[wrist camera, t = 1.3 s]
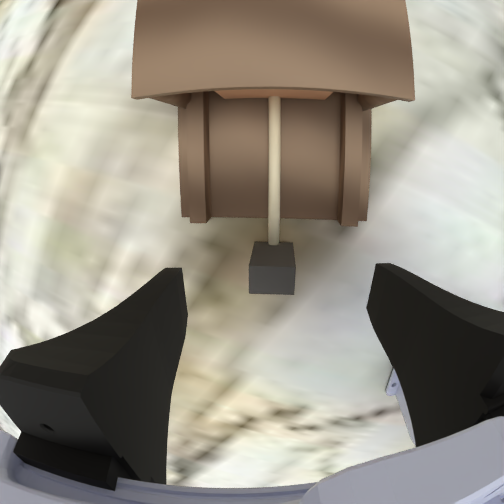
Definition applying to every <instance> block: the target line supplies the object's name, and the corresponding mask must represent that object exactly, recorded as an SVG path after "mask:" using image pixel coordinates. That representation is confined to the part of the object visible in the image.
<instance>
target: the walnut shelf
mask: <svg viewBox="0 0 504 504" xmlns="http://www.w3.org/2000/svg"><path fill="white" fill-rule="evenodd" d="M242 89H292V90H315V91H330V92H333V93H332V94H331V95H330V96H328V97H327V98H326V99H325V100H317V99H296V98H281V167H280V218H296V219H328V220H337V221H338V222H339V223H340V225H341V226H354V227H357V226H358V221H367V210H368V197H369V182H370V161H371V108H374V107H377V106H380V105H383V104H386V103H389V102H392V101H396V100H402V101H408V102H410V101H414V100H415V90H414V71H413V58H412V47H411V37H410V29H409V22H408V15H407V8H406V2H405V0H138V1H137V10H136V19H135V31H134V44H133V62H132V95H131V98H133V99H143V98H152V99H155V100H158V101H161V102H165V103H168V104H171V105H174V106H177V107H178V140H179V172H180V194H181V212H182V217H190V223H207V222H208V221H209V219H210V218H211V217H246V218H268V189H269V103H268V98H236V99H224V98H223V97H221V96H220V95H219V94H218V93H216V92H215V91H219V90H242Z"/></svg>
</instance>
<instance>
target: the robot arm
mask: <svg viewBox="0 0 504 504" xmlns="http://www.w3.org/2000/svg"><path fill="white" fill-rule="evenodd" d="M366 308H367V311H368V314H369V318H370V321H371V323H372V326H373V329H374V331H375V333H376V335H377V337H378V339H379V341H380V343H381V344H382V346H383V348H384V350H385V352H386V354H387V356H388V358H389V360H390V362H391V364H392V366H393V371H392V374H391V377H390V380H389V383H388V386H387V388H386V394H387V395H389V396H391V395H396V397H397V400H398V403H399V406H400V409H401V411H402V414H403V417H404V420H405V423H406V426H407V429H408V432H409V435H410V437H411V440H412V441H413V443H414V444H415V445H416V448H413V449H409V450H406V451H402V452H399V453H395V454H392V455H388V456H384V457H380V458H377V459H374V460H371V461H368V462H365V463H361V464H358V465H355V466H351V467H348V468H346V469H344V470H341V471H339V472H337V473H335V474H333V475H330V476H328V477H326V478H323V479H321V480H320V481H319V482H315V483H308V484H299V485H290V486H278V487H262V488H202V487H186V486H175V485H166V459H167V437H168V423H169V412H170V403H171V394H172V389H173V384H174V380H175V376H176V372H177V368H178V364H179V360H180V356H181V352H182V348H183V344H184V340H185V335H186V327H187V317H188V312H187V305H186V297H185V289H184V281H183V273H182V268H165V269H163V270H162V271H161V272H159V273H158V274H157V275H156V276H154V277H153V278H152V279H151V280H150V281H148V282H147V283H146V284H145V285H144V286H142V287H141V288H140V289H139V290H137V291H136V292H135V293H134V294H132V295H131V296H130V297H128V298H127V299H125V300H124V301H123V302H121V303H120V304H119V305H117V306H116V307H114V308H113V309H111V310H110V311H108V312H107V313H105V314H103V315H102V316H100V317H98V318H97V319H95V320H93V321H91V322H89V323H87V324H85V325H83V326H81V327H79V328H77V329H75V330H73V331H70V332H68V333H66V334H63V335H61V336H58V337H55V338H53V339H50V340H47V341H44V342H41V343H37V344H34V345H30V346H26V347H22V348H18V349H14V350H11V351H10V352H9V354H8V355H7V357H6V358H5V360H4V361H3V363H2V364H1V366H0V405H1V407H2V408H3V409H4V411H5V412H6V413H7V414H8V416H9V417H10V418H11V420H12V421H13V422H14V423H15V424H16V426H17V427H18V428H19V429H20V430H21V434H20V437H19V439H17V438H15V437H14V436H12V435H11V434H9V433H7V432H5V431H2V430H0V504H504V312H501V311H497V310H494V309H490V308H487V307H484V306H482V305H478V304H475V303H473V302H470V301H468V300H465V299H463V298H460V297H458V296H456V295H454V294H452V293H449V292H447V291H445V290H443V289H441V288H439V287H437V286H435V285H433V284H432V283H430V282H428V281H426V280H424V279H422V278H420V277H418V276H416V275H415V274H413V273H411V272H409V271H407V270H405V269H403V268H401V267H398V266H396V265H394V264H391V263H380V264H376V265H375V271H374V276H373V280H372V285H371V290H370V294H369V299H368V303H367V307H366ZM393 383H394V384H393Z"/></svg>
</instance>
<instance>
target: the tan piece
mask: <svg viewBox="0 0 504 504" xmlns="http://www.w3.org/2000/svg"><path fill="white" fill-rule="evenodd" d="M215 92H216V93H218V94H219V95H220V96H221V97H223V98H224V99H236V98H268V103H269V189H268V242H255V243H254V247H253V251H252V255H251V259H250V263H249V293H250V294H283V295H294V289H295V271H296V265H295V257H294V249H293V243H288V242H279V232H280V167H281V98H296V99H317V100H325V99H326V98H327V97H328V96H330V95H331V94H332V93H333V92H330V91H315V90H292V89H242V90H219V91H215Z"/></svg>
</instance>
